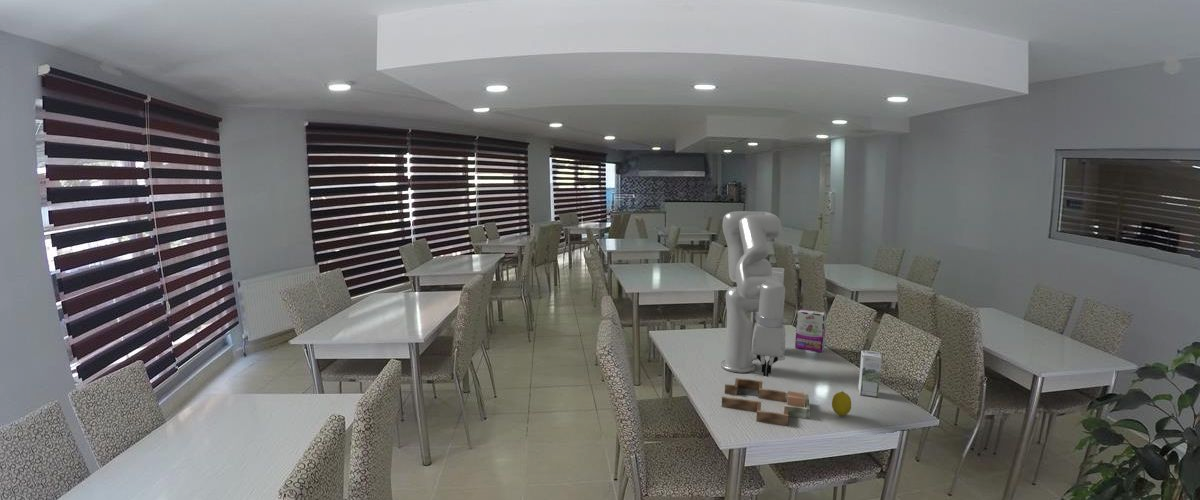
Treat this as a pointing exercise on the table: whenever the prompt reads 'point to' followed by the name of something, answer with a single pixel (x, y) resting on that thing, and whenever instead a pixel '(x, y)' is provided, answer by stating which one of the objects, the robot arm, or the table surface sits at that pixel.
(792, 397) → the block
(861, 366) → the syrup box
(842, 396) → the lemon
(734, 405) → the wooden zigzag frame
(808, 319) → the candy bar box
